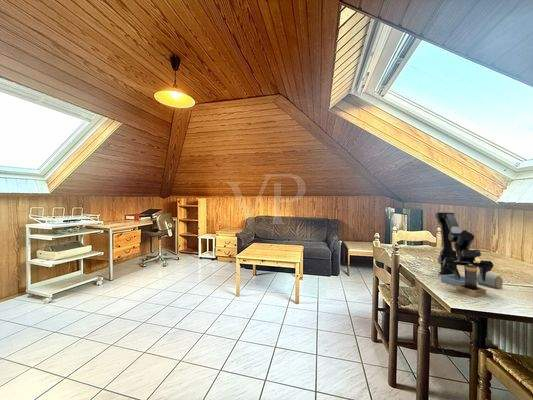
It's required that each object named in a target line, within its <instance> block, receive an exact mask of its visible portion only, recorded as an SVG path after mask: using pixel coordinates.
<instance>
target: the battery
mask: <svg viewBox="0 0 533 400" xmlns="http://www.w3.org/2000/svg"><path fill="white" fill-rule="evenodd" d="M477 268H478V267H477V266H474V265H473V264H465V265H464V268H463V270H464V277H465V288H468V289H471V290H477V287H478V282H477V275H478V273H477V272H478V269H477Z"/></svg>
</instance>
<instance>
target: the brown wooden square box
mask: <svg viewBox="0 0 533 400" xmlns="http://www.w3.org/2000/svg"><path fill="white" fill-rule="evenodd" d="M454 291H455V292H458V293H461V294H464V295H467V296H469V297H472V298H480V297H481V298H482V297H486V296H488V294H487V289H486V288H482V287H480V286H477V290H471V289H468V288H465V284H462V285H456V286H455V289H454Z"/></svg>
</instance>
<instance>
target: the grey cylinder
mask: <svg viewBox="0 0 533 400" xmlns="http://www.w3.org/2000/svg"><path fill="white" fill-rule="evenodd" d="M503 280H504V279H503V277H501V276H500V275H499V274H496V273H491V272H490V271H488V272H487V273H486V277H485V282H484V281H483V280H482V278H481V275H480V272H479V271H478V273H477V285H478V284H479V285H482V286H487V287H490V288H494V289H501V288H502V287H503V283H504V281H503Z"/></svg>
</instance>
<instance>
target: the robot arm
mask: <svg viewBox="0 0 533 400" xmlns="http://www.w3.org/2000/svg"><path fill="white" fill-rule="evenodd" d="M434 218H435V219H436V222H437V223H438V224H439V225H440V234H441V242H442V243H441V245H442V249H441V250H440V252H439V255H438V258H437V263H438V264H439V265H440V271H439V272H438V273H439V274H441V275H451V274H455V275H456V276H457V277H458V278H459V279H460V275H461V274H460V272H459V270H458V266H462V267H463V266H464V265H465V264H473V265H474V266H477V268H478V269H479V271H478V273H479V272H480V275H481V278H482V280H483V281H484V282H485V277H486V273H487V272H491V270H492V269H493V267H494V262H493V261H491V260H483V259H480V262H476V258H477V257H479V258H480V257H481V256H482V254H481V250H480V249H470V248H469V247H471V245H472V244H473V242H474V241H475V235H474V234H472V233H471V232H468V230H466V229H463V228H460V226H459V223H458V221H457V220H456V217H455V212H453V211H437V212H436V213H435V217H434ZM452 243H454V244H452ZM453 247H454V249H453Z"/></svg>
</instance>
